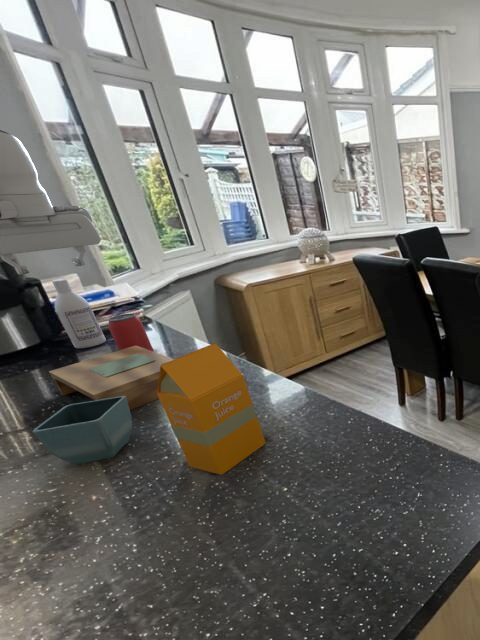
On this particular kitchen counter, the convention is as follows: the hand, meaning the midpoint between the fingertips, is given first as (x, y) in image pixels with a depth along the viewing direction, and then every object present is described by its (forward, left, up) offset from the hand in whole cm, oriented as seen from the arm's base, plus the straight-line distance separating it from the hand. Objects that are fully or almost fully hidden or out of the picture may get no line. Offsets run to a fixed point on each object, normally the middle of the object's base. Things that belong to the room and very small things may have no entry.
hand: (53, 269), depth 93 cm
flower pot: (-15, -47, -27) cm, 56 cm away
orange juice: (-5, -68, -27) cm, 73 cm away
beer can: (+8, -1, -27) cm, 28 cm away
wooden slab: (-2, -21, -26) cm, 34 cm away
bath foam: (+6, +25, -27) cm, 37 cm away
